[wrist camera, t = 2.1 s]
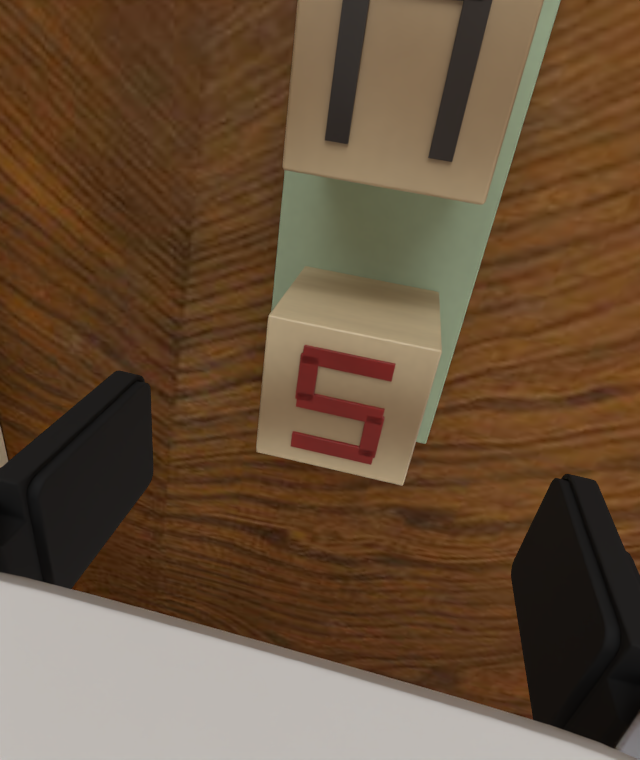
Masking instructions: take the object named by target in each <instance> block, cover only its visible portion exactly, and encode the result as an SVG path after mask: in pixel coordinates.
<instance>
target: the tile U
mask: <svg viewBox="0 0 640 760" xmlns="http://www.w3.org/2000/svg"><path fill="white" fill-rule="evenodd" d="M543 2H544V0H298V1H297V12H296V23H295V34H294V44H293V55H292V66H291V77H290V88H289V99H288V109H287V120H286V131H285V142H284V153H283V164H282V166H283V169H284V170H286V171H292V172H297V173H303V174H309V175H314V176H320V177H326V178H331V179H337V180H343V181H348V182H354V183H360V184H365V185H371V186H376V187H382V188H388V189H393V190H399V191H405V192H410V193H416V194H422V195H427V196H433V197H438V198H444V199H450V200H455V201H461V202H467V203H472V204H478V205H482V204H484V203H485V202H486V199H487V195H488V192H489V188H490V185H491V181H492V178H493V174H494V171H495V168H496V164H497V161H498V157H499V154H500V150H501V147H502V144H503V140H504V137H505V133H506V130H507V126H508V123H509V119H510V116H511V113H512V109H513V106H514V102H515V99H516V95H517V92H518V88H519V85H520V82H521V78H522V75H523V71H524V68H525V64H526V61H527V57H528V54H529V51H530V47H531V44H532V40H533V37H534V33H535V30H536V27H537V23H538V20H539V16H540V13H541V9H542V6H543Z"/></svg>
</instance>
